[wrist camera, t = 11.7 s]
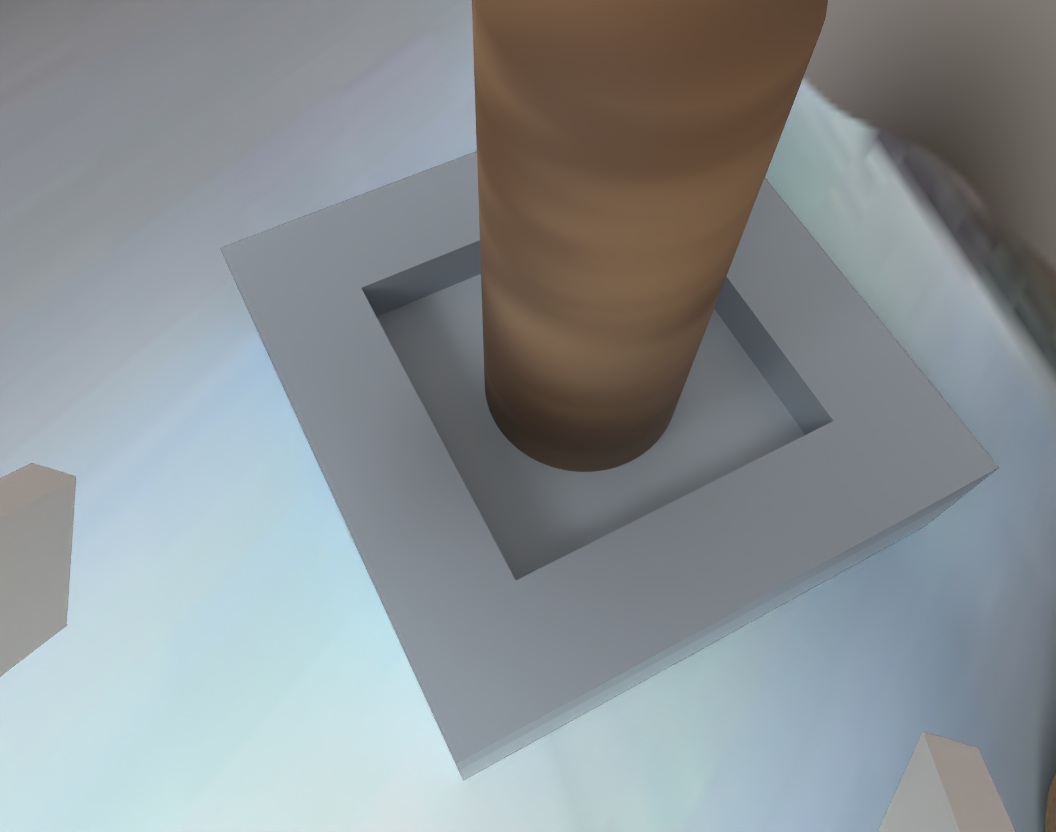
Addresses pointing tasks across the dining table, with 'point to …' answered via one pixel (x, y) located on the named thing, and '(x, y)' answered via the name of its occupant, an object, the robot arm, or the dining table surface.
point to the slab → (587, 497)
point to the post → (617, 201)
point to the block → (1051, 808)
